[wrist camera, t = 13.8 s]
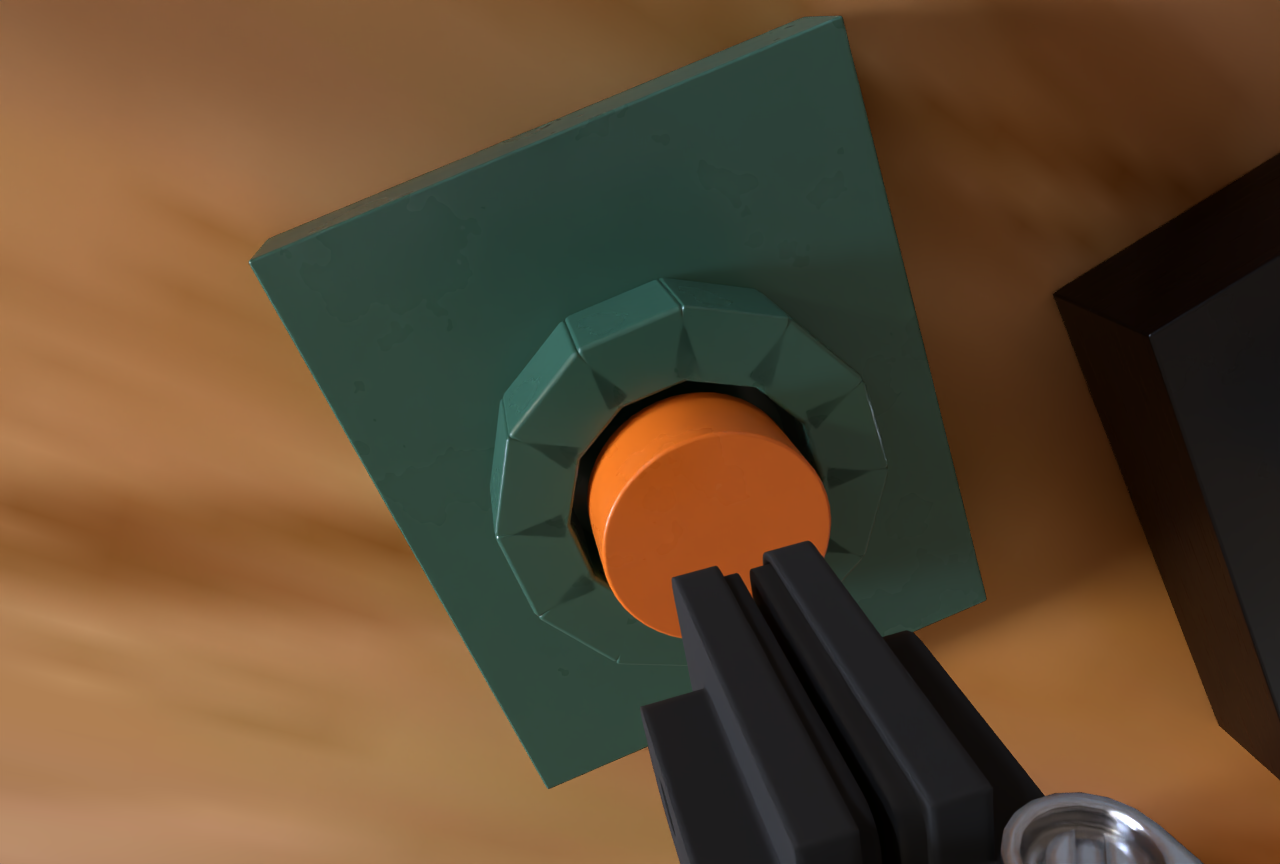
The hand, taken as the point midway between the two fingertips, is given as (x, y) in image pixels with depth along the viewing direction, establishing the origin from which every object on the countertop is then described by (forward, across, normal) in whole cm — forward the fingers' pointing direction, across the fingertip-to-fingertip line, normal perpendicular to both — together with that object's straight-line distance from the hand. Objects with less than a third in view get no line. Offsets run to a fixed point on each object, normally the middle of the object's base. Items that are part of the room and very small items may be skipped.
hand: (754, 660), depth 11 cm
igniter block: (+8, -1, 0) cm, 8 cm away
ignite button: (+5, -1, 0) cm, 5 cm away
